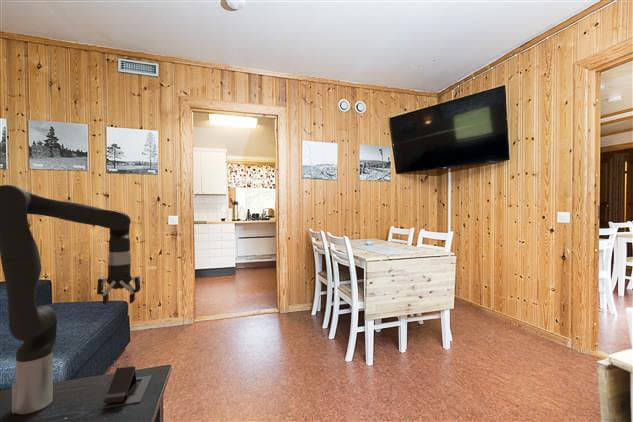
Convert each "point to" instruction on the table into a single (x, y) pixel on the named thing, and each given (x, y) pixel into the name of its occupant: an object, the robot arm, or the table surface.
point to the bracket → (137, 392)
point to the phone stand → (121, 386)
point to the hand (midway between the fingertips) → (119, 303)
